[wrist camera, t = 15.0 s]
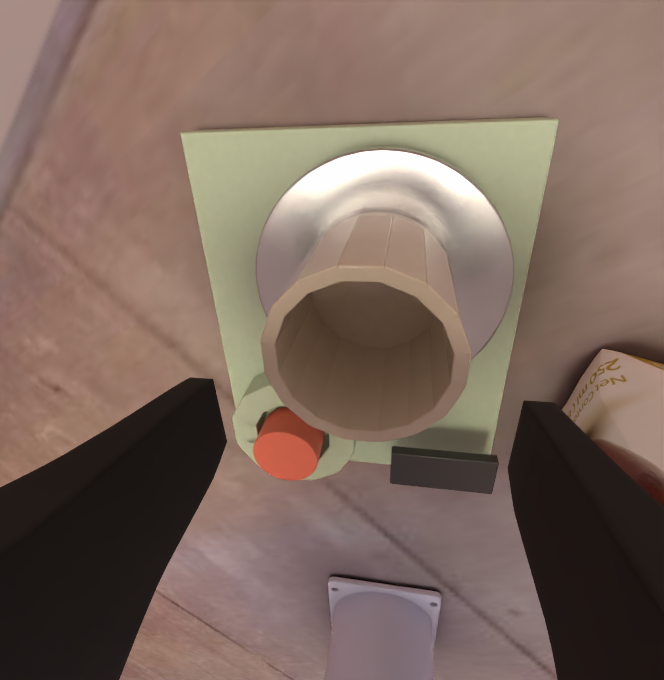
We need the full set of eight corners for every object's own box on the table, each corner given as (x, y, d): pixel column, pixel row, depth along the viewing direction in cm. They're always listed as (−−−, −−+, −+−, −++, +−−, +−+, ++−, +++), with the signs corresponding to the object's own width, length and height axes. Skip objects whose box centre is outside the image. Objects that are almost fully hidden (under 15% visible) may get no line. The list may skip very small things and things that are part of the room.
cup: (445, 353, 16) (457, 450, 11) (309, 345, 16) (273, 433, 12) (461, 211, 13) (484, 268, 9) (298, 211, 14) (247, 263, 10)
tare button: (326, 456, 21) (319, 484, 19) (268, 450, 21) (257, 477, 20) (323, 409, 19) (315, 435, 18) (260, 404, 20) (248, 429, 18)
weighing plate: (490, 485, 19) (492, 496, 19) (286, 465, 21) (283, 474, 20) (564, 141, 12) (571, 143, 12) (243, 150, 14) (237, 152, 13)
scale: (482, 454, 22) (491, 500, 20) (251, 433, 25) (233, 473, 22) (547, 116, 14) (576, 121, 12) (196, 129, 17) (156, 136, 14)
